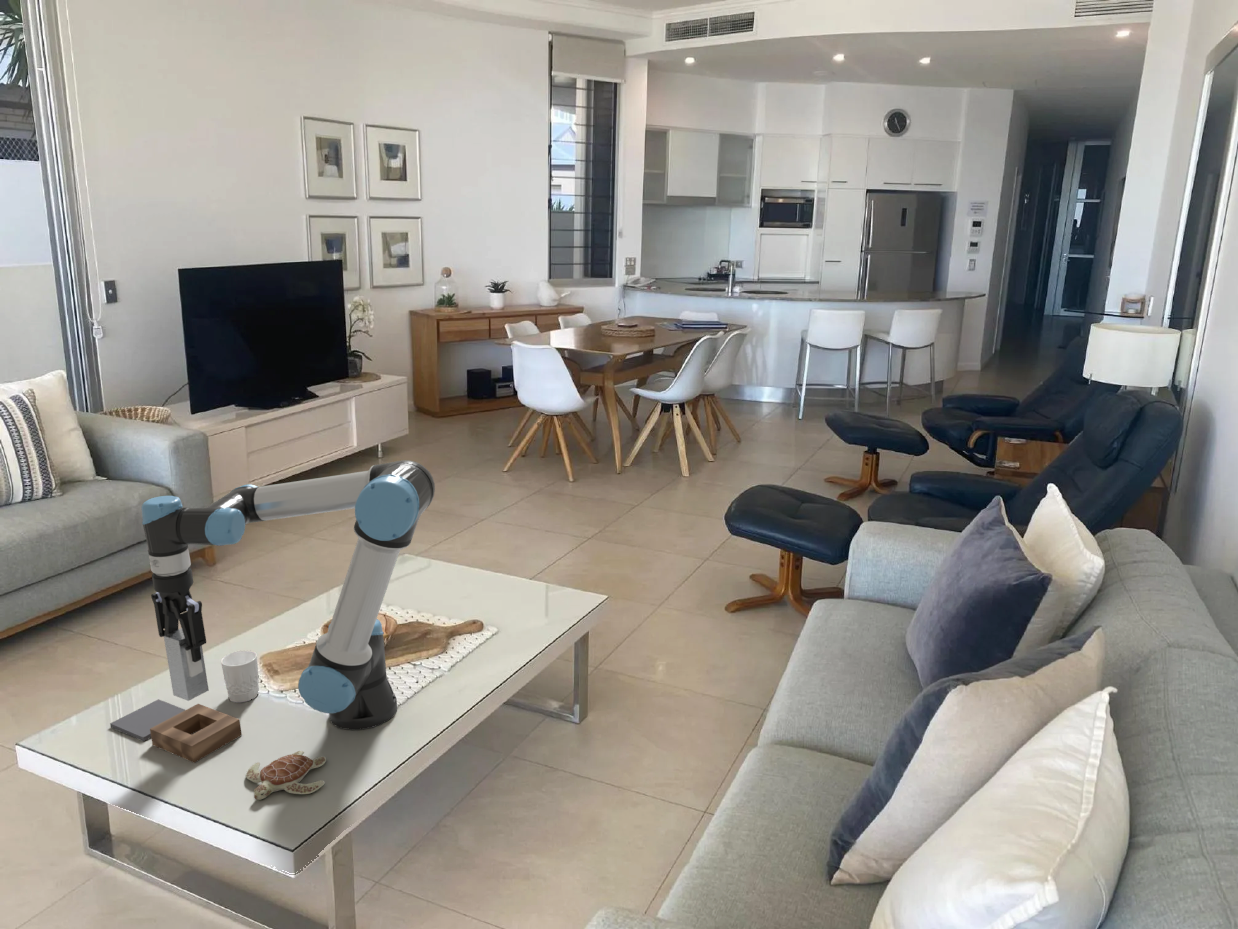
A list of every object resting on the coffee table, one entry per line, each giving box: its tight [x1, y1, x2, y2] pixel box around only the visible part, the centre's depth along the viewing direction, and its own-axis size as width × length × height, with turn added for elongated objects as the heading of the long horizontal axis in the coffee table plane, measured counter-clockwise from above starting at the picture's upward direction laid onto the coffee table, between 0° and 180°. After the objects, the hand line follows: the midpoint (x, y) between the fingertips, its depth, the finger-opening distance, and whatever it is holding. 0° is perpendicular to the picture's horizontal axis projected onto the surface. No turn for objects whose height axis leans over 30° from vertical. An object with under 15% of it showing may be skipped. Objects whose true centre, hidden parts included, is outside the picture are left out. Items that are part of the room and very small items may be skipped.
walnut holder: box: [150, 703, 243, 764], centre depth 204 cm, size 14×12×4 cm
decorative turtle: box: [245, 750, 327, 801], centre depth 189 cm, size 18×17×5 cm
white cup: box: [220, 650, 260, 704], centre depth 221 cm, size 8×8×10 cm
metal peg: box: [163, 627, 209, 702], centre depth 199 cm, size 5×5×14 cm
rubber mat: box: [109, 699, 186, 742], centre depth 212 cm, size 12×12×1 cm
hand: (187, 670), depth 200 cm, fingers closed on metal peg, 5 cm apart
